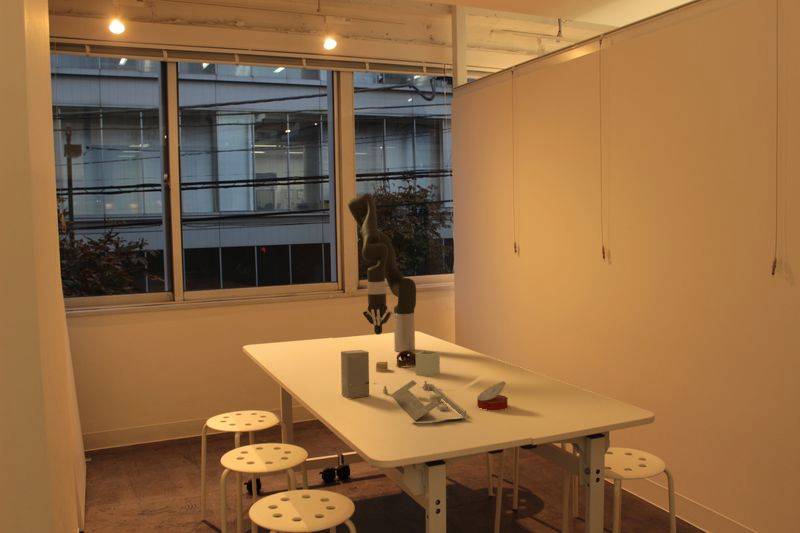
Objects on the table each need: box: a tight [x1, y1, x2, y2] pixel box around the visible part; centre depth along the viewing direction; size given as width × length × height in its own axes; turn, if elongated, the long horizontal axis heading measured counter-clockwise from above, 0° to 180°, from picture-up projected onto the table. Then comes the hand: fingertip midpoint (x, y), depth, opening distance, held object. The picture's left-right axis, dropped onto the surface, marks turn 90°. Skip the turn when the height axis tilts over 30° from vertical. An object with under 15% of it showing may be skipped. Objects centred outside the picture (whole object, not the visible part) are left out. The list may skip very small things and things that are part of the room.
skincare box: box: [340, 349, 370, 399], centre depth 273 cm, size 8×7×16 cm
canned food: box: [476, 381, 509, 411], centre depth 255 cm, size 11×10×10 cm
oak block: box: [375, 361, 389, 373], centre depth 310 cm, size 4×4×4 cm
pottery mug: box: [396, 350, 416, 368], centre depth 319 cm, size 12×10×8 cm
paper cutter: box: [382, 380, 468, 424], centre depth 257 cm, size 18×45×6 cm, turn 13°
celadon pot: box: [415, 350, 441, 377], centre depth 302 cm, size 7×7×9 cm
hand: (378, 334), depth 322 cm, fingers closed
